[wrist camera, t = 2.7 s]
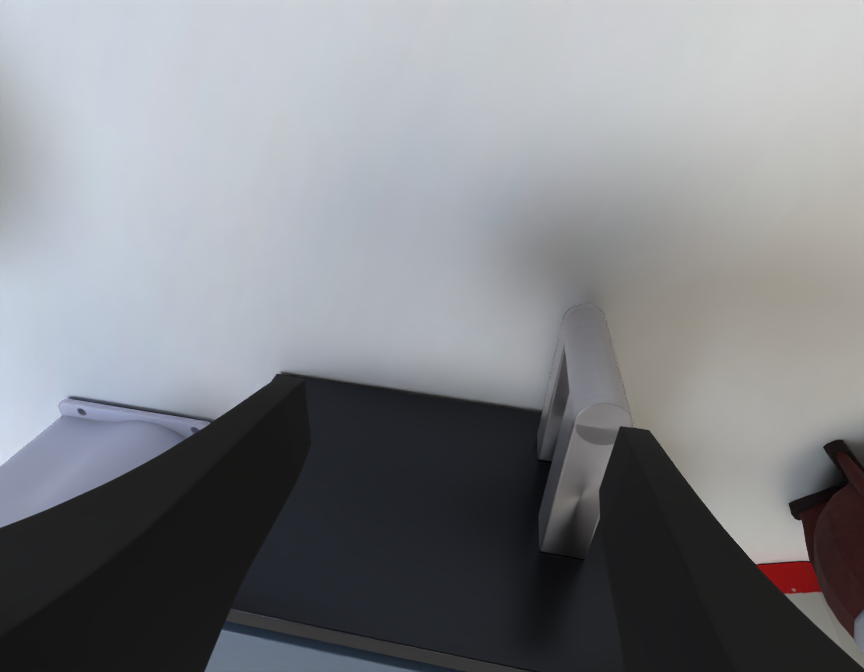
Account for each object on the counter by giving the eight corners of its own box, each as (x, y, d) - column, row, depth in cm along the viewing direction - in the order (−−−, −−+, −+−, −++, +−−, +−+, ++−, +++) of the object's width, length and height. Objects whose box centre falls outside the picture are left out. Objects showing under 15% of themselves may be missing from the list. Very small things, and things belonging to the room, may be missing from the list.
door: (259, 245, 22) (38, 420, 12) (635, 290, 20) (736, 539, 10) (278, 385, 26) (125, 601, 16) (592, 433, 24) (635, 708, 14)
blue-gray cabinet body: (280, 387, 26) (124, 609, 16) (591, 435, 24) (634, 718, 14) (297, 514, 31) (188, 741, 21) (553, 561, 29) (565, 832, 19)
